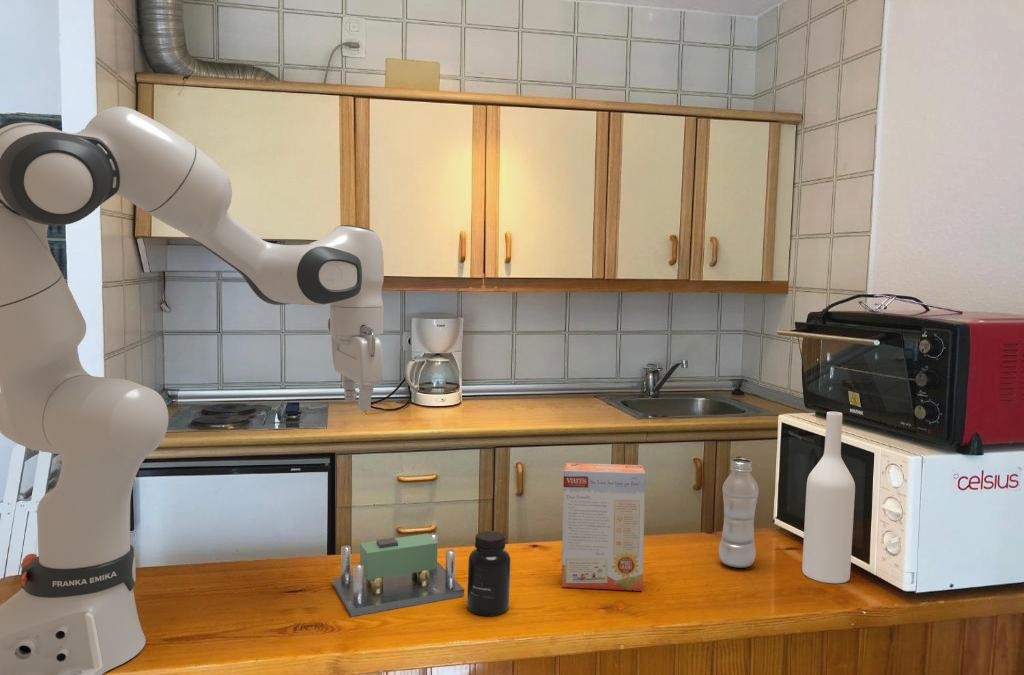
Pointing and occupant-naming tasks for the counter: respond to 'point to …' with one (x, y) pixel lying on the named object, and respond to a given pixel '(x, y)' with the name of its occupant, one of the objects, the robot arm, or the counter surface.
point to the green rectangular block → (398, 556)
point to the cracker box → (603, 526)
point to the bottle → (829, 512)
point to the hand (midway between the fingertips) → (357, 404)
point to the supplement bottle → (489, 575)
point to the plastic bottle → (739, 515)
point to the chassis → (394, 586)
